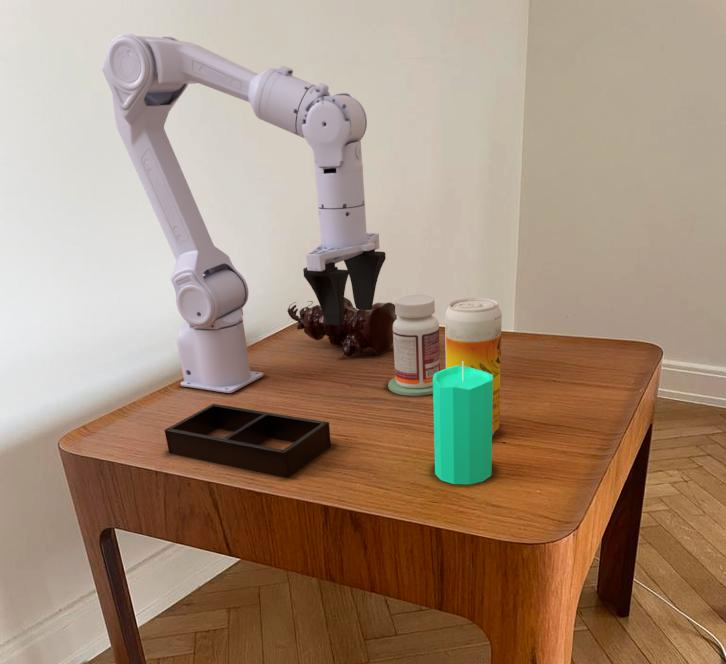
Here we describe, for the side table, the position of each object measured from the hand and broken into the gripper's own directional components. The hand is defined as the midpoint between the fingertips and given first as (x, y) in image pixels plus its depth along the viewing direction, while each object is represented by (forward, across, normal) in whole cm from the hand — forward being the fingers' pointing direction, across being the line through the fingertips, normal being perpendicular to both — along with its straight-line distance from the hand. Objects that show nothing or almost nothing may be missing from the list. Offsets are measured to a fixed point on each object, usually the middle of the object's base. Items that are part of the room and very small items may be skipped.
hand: (349, 316), depth 97 cm
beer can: (+11, -7, -20) cm, 24 cm away
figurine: (+11, +16, +12) cm, 23 cm away
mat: (+10, +5, -7) cm, 13 cm away
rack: (+10, -21, +2) cm, 24 cm away
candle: (+11, -17, -23) cm, 31 cm away
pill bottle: (+10, +5, -7) cm, 13 cm away
